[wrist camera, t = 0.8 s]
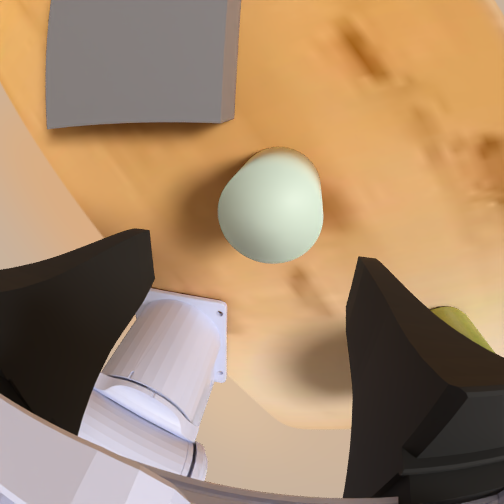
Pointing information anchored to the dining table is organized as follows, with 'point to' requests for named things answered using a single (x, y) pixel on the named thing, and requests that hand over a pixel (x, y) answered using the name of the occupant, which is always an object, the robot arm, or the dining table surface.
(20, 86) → the dining table surface
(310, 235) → the sage cylinder
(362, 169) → the dining table surface
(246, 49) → the dining table surface
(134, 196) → the dining table surface
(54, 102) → the gray square block
